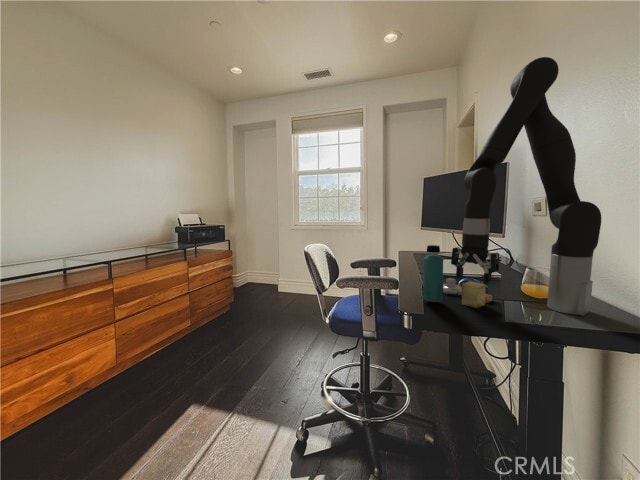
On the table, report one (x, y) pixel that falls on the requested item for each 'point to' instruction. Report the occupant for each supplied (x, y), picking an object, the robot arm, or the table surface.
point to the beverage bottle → (433, 275)
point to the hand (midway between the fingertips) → (472, 280)
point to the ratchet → (458, 289)
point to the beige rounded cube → (473, 294)
